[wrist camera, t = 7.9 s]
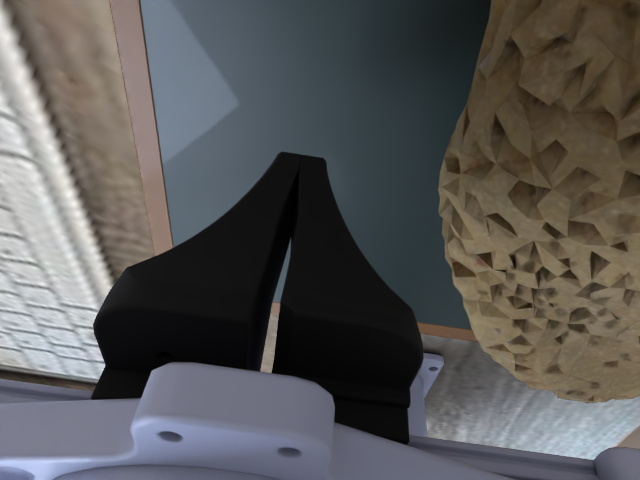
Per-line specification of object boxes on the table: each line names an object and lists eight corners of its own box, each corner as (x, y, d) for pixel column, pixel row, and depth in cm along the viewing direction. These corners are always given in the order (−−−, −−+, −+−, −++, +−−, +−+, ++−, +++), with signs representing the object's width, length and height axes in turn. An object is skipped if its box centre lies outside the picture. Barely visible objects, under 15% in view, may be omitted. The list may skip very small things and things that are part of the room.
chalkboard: (619, 356, 27) (622, 362, 26) (164, 292, 26) (162, 298, 26) (1417, -401, 9) (1455, -408, 8) (-3, -678, 8) (-18, -696, 8)
